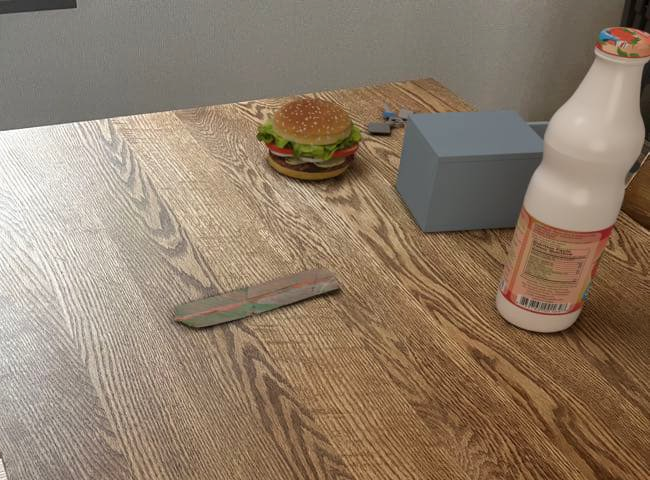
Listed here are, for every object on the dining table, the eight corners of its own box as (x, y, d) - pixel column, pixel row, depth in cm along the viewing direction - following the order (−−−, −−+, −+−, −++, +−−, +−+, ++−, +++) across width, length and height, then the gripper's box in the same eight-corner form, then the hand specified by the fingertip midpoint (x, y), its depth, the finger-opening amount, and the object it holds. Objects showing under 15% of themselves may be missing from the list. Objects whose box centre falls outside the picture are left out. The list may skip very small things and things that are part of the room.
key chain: (376, 138, 123) (377, 132, 122) (343, 118, 127) (343, 113, 126) (445, 119, 128) (446, 114, 127) (411, 101, 132) (411, 96, 132)
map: (165, 314, 92) (165, 307, 91) (323, 265, 98) (323, 258, 97) (184, 338, 89) (184, 331, 88) (345, 286, 95) (346, 279, 94)
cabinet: (495, 181, 115) (514, 109, 108) (530, 226, 107) (553, 151, 99) (395, 186, 113) (407, 113, 106) (423, 232, 105) (439, 156, 97)
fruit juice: (478, 294, 95) (553, 21, 74) (548, 283, 97) (641, 14, 76) (520, 340, 89) (614, 58, 69) (594, 327, 92) (707, 49, 71)
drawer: (595, 172, 116) (616, 114, 110) (634, 211, 108) (658, 151, 102) (466, 179, 113) (480, 119, 107) (496, 219, 106) (513, 158, 100)
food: (312, 133, 123) (317, 76, 118) (374, 169, 116) (383, 110, 110) (238, 155, 118) (239, 95, 112) (298, 194, 111) (303, 132, 105)
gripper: (630, -105, 92) (565, 116, 109) (691, -77, 83) (609, 158, 101) (692, -106, 93) (617, 114, 110) (758, -78, 84) (665, 155, 102)
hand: (613, 135), depth 106 cm, fingers closed
